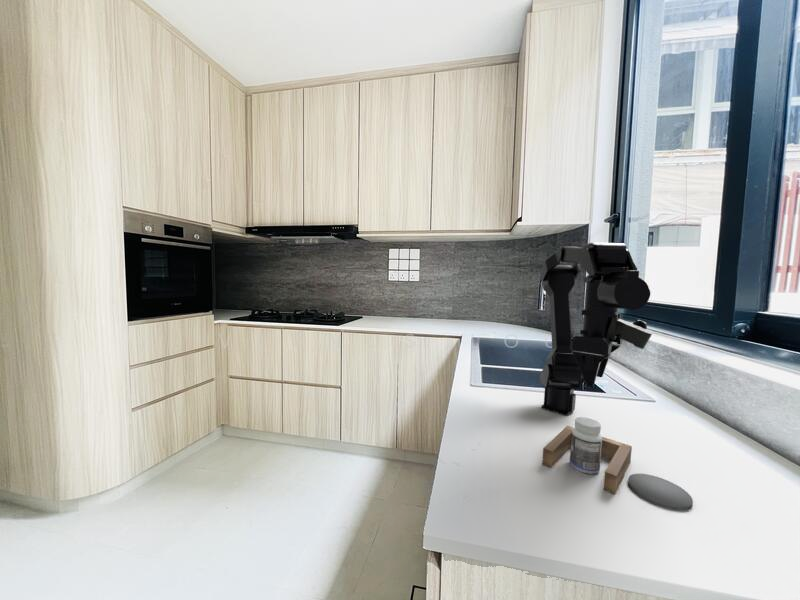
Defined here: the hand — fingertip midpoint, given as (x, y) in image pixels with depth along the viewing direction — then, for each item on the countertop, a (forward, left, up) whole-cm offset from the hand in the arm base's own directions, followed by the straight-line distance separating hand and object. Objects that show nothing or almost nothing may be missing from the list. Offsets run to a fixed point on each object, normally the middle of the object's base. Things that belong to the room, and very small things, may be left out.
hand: (594, 381), depth 66 cm
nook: (+2, -9, -13) cm, 16 cm away
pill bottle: (+2, -10, -13) cm, 17 cm away
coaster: (+12, -9, -13) cm, 20 cm away
